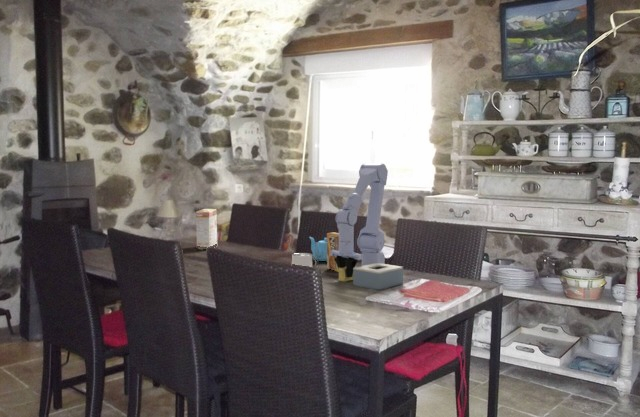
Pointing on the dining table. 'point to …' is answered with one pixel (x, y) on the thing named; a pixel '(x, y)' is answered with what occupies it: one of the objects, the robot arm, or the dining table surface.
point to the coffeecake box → (206, 227)
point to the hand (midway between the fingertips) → (346, 276)
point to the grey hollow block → (378, 276)
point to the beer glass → (302, 259)
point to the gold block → (344, 274)
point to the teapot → (319, 249)
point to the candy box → (332, 245)
